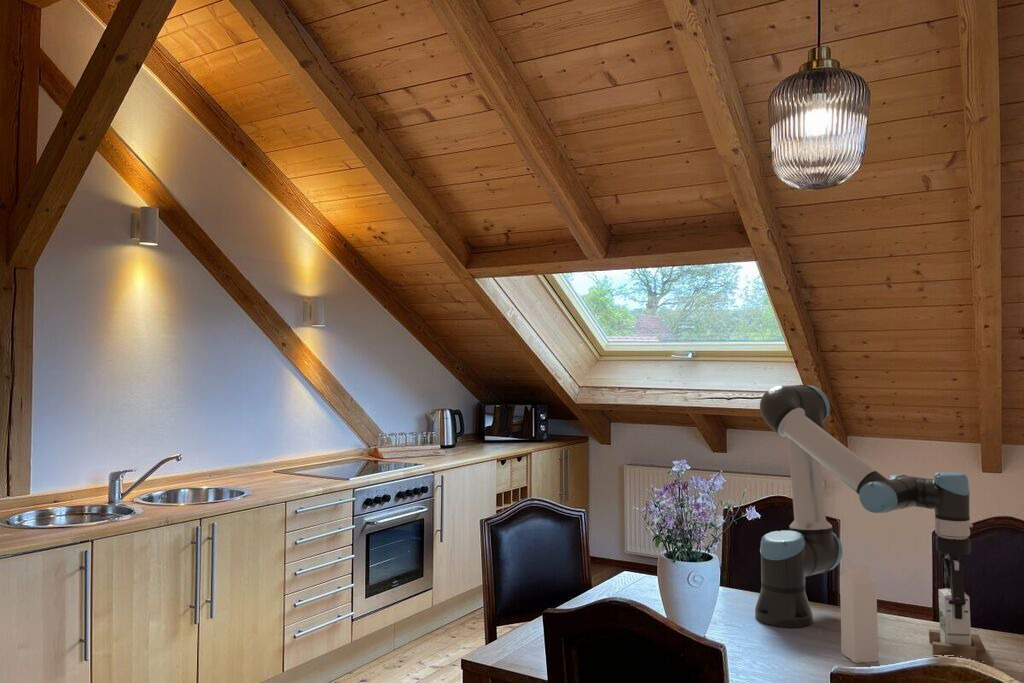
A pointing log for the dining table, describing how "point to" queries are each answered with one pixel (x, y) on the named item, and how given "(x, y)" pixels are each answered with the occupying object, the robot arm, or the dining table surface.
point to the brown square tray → (958, 647)
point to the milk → (859, 615)
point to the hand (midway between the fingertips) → (954, 623)
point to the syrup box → (945, 620)
